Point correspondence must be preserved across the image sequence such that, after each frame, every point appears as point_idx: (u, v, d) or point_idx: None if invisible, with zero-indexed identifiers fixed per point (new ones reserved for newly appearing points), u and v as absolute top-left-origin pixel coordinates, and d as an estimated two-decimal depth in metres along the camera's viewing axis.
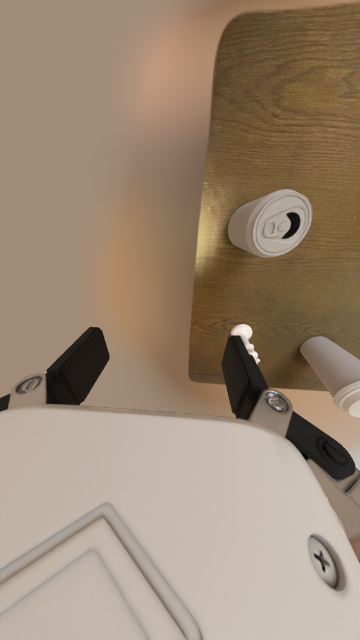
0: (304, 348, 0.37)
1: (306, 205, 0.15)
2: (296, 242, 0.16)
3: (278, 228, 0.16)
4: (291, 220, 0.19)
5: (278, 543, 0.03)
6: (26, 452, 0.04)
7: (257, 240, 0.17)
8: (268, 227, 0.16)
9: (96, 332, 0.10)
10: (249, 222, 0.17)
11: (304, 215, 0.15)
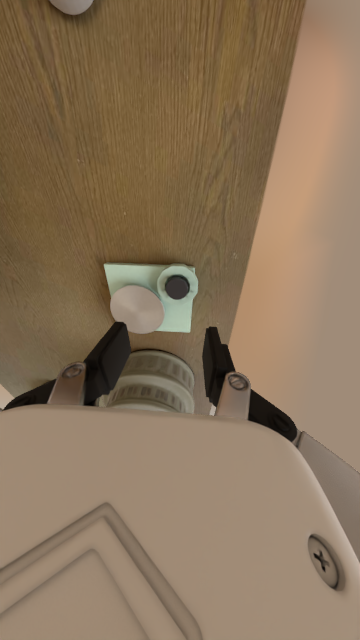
0: None
1: None
2: None
3: None
4: None
5: (278, 543, 0.03)
6: (26, 452, 0.04)
7: None
8: None
9: (122, 326, 0.11)
10: None
11: None
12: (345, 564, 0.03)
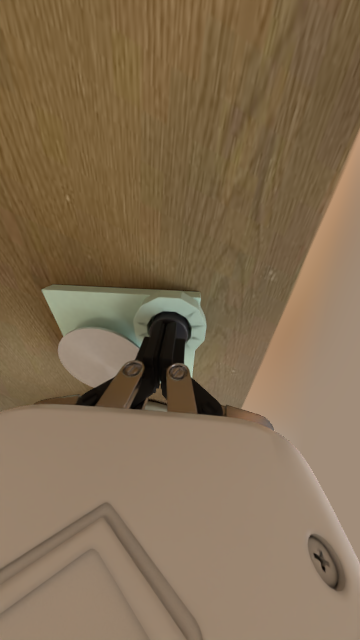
0: None
1: None
2: None
3: None
4: None
5: (278, 543, 0.03)
6: (26, 452, 0.04)
7: None
8: None
9: (163, 325, 0.11)
10: None
11: None
12: (345, 564, 0.03)
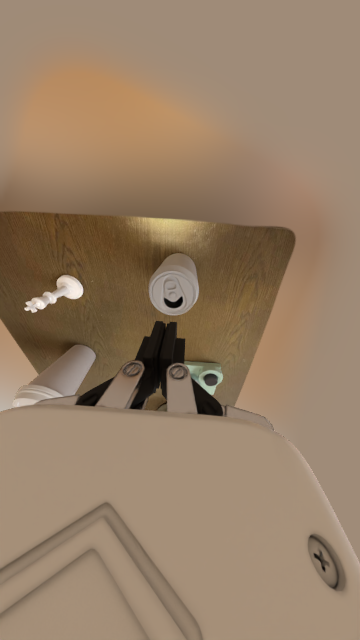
0: (77, 347, 0.38)
1: (186, 308, 0.19)
2: (161, 309, 0.19)
3: (171, 293, 0.18)
4: (179, 303, 0.23)
5: (278, 543, 0.03)
6: (26, 452, 0.04)
7: (161, 276, 0.17)
8: (171, 284, 0.18)
9: (163, 325, 0.11)
10: (177, 266, 0.17)
11: (180, 309, 0.19)
12: (345, 564, 0.03)
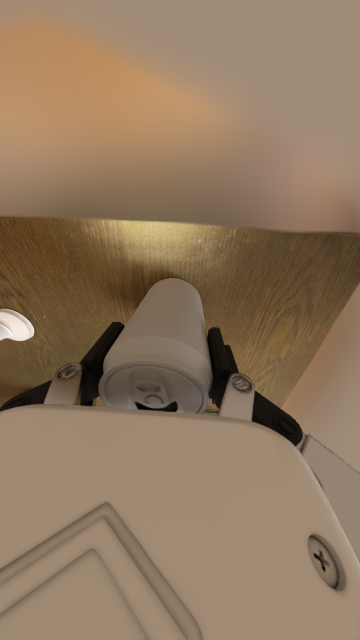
0: None
1: None
2: None
3: (150, 396, 0.08)
4: None
5: (278, 543, 0.03)
6: (26, 452, 0.04)
7: (121, 369, 0.07)
8: (149, 382, 0.07)
9: (119, 326, 0.11)
10: (162, 341, 0.07)
11: None
12: (345, 564, 0.03)
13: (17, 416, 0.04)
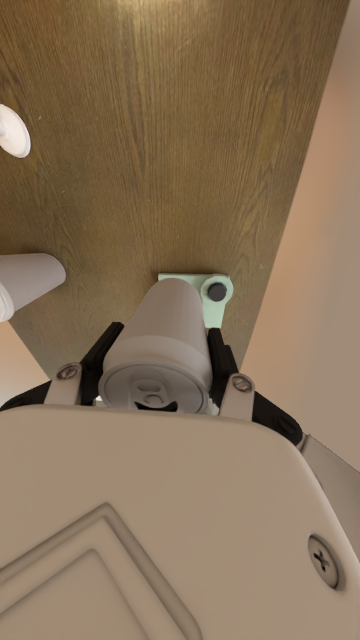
0: (38, 253, 0.29)
1: None
2: None
3: (150, 396, 0.08)
4: None
5: (278, 543, 0.03)
6: (26, 452, 0.04)
7: (121, 368, 0.07)
8: (149, 382, 0.07)
9: (119, 326, 0.11)
10: (162, 340, 0.07)
11: None
12: (345, 564, 0.03)
13: (17, 416, 0.04)
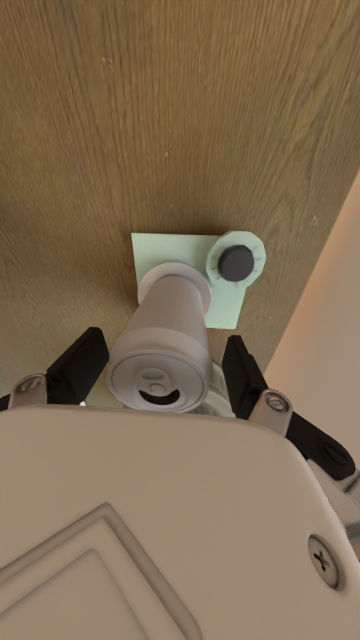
0: None
1: (188, 406, 0.09)
2: (137, 406, 0.10)
3: (153, 385, 0.08)
4: None
5: (278, 543, 0.03)
6: (26, 452, 0.04)
7: (127, 357, 0.07)
8: (153, 370, 0.08)
9: (96, 332, 0.10)
10: (165, 332, 0.08)
11: (174, 406, 0.09)
12: (345, 564, 0.03)
13: (17, 416, 0.04)
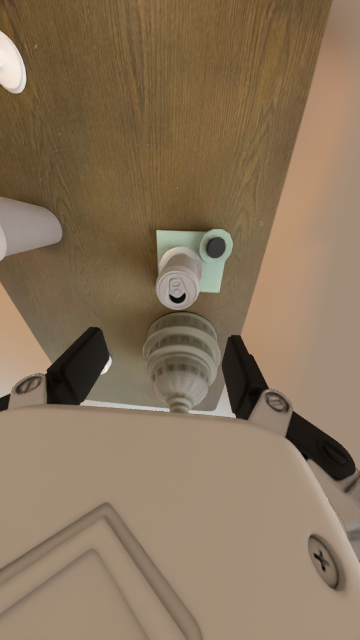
0: None
1: (189, 303, 0.22)
2: (167, 304, 0.22)
3: (175, 290, 0.21)
4: (182, 299, 0.26)
5: (278, 543, 0.03)
6: (26, 452, 0.04)
7: (166, 275, 0.20)
8: (176, 282, 0.20)
9: (96, 332, 0.10)
10: (180, 266, 0.20)
11: (183, 304, 0.22)
12: (345, 564, 0.03)
13: (17, 416, 0.04)
